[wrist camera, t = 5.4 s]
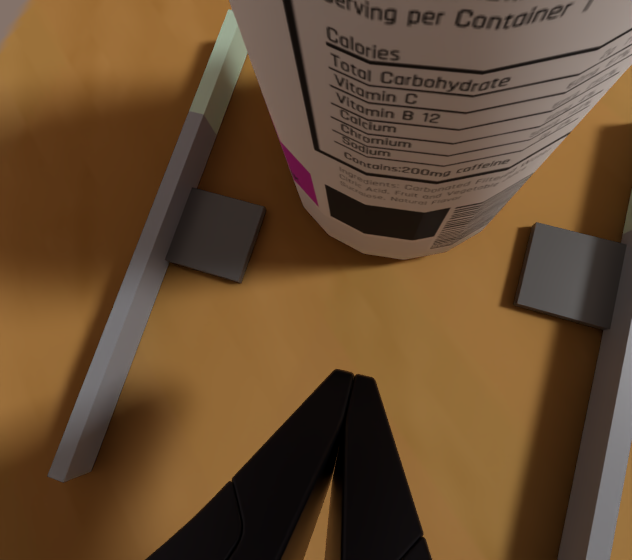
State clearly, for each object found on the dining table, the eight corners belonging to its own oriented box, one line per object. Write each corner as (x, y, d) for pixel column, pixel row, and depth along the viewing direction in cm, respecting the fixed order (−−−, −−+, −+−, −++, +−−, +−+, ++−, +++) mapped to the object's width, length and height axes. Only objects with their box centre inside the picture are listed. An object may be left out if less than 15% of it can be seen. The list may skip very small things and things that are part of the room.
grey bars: (560, 654, 13) (585, 691, 12) (76, 465, 16) (47, 476, 14) (662, 124, 16) (693, 100, 14) (238, 37, 18) (228, 9, 17)
